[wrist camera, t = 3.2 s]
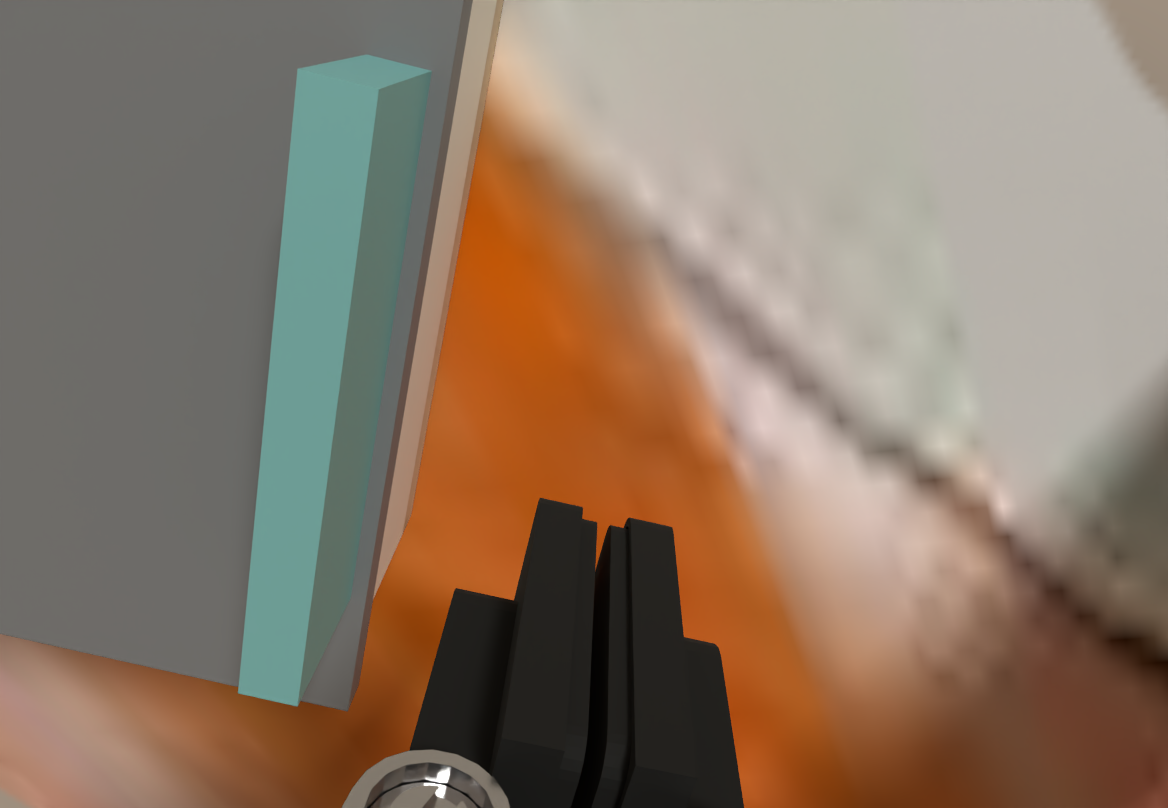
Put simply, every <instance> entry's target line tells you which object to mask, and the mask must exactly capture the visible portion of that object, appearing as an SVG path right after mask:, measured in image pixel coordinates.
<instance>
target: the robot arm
mask: <svg viewBox="0 0 1168 808" xmlns="http://www.w3.org/2000/svg"><path fill="white" fill-rule="evenodd" d="M582 514H583V508H582V507H579V506H575V505H570V504H566V503H561V502H557V501H552V500H548V499H543V498H540V499H539V502H538V506H537V509H536V513H535V517H534V522H533V526H532V530H531V534H530V538H529V542H528V546H527V550H526V554H525V558H524V562H523V566H522V570H521V574H520V578H519V582H518V586H517V590H516V595H515V599H514V601H513V600H508V599H504V598H499V597H494V596H490V595H485V594H481V593H476V592H471V591H467V590H462V589H457V588H456V589H455V591H454V594H453V598H452V601H451V605H450V608H449V612H448V615H447V619H446V622H445V626H444V629H443V633H442V637H441V640H440V644H439V647H438V651H437V654H436V658H435V661H434V665H433V669H432V672H431V676H430V679H429V683H428V686H427V690H426V693H425V697H424V701H423V704H422V708H421V711H420V715H419V718H418V722H417V725H416V729H415V733H414V736H413V740H412V743H411V747H410V750H409V751H406V752H403V753H400V754H397V755H393V756H390V757H387V758H385V759H383V760H382V761H380V762H379V763H377V764H376V765H374V766H373V767H371V768H370V769H368V770H367V771H366V772H365V773H364V774H363V776H362V777H361V778H360V779H359V781H358V782H357V783H356V784H355V786H354V787H353V788H352V790H351V792H350V793H349V795H348V797H347V799H346V801H345V803H344V804H343V806H342V808H744V804H743V798H742V791H741V785H740V778H739V772H738V765H737V759H736V752H735V745H734V739H733V732H732V726H731V719H730V713H729V706H728V700H727V693H726V687H725V680H724V673H723V667H722V660H721V655H720V651H719V648H718V647H717V646H716V645H715V644H713V643H708V642H704V641H699V640H694V639H690V638H685V637H684V635H683V625H682V615H681V605H680V595H679V585H678V575H677V565H676V555H675V545H674V534H673V529H672V527H669V526H665V525H660V524H656V523H651V522H647V521H642V520H638V519H633V518H628V519H627V521H626V523H625V526H624V528H620V527H616V526H611V525H610V526H609V528H608V530H607V533H606V536H605V539H604V543H603V546H602V550H601V553H600V557H599V560H598V564H597V567H596V571H595V563H596V540H597V522H593V521H589V520H584V519H582Z"/></svg>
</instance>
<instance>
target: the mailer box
mask: <svg viewBox="0 0 1168 808" xmlns="http://www.w3.org/2000/svg"><path fill="white" fill-rule="evenodd" d="M503 1H504V0H473V2H472V8H471V14H470V20H469V26H468V32H467V38H466V44H465V50H464V56H463V62H462V68H461V74H460V80H459V86H458V92H457V98H456V104H455V110H454V116H453V122H452V128H451V134H450V140H449V146H448V152H447V158H446V164H445V170H444V176H443V182H442V188H441V194H440V200H439V206H438V212H437V218H436V224H435V230H434V236H433V242H432V248H431V254H430V260H429V266H428V272H427V278H426V284H425V290H424V296H423V302H422V308H421V314H420V320H419V326H418V332H417V338H416V344H415V350H414V356H413V362H412V368H411V374H410V380H409V386H408V392H407V398H406V404H405V410H404V416H403V422H402V428H401V434H400V440H399V446H398V452H397V458H396V464H395V470H394V476H393V482H392V488H391V494H390V500H389V506H388V512H387V518H386V524H385V530H384V536H383V542H382V548H381V554H380V560H379V566H378V572H377V578H376V584H375V590H374V596H375V594H376V592H377V590H378V588H379V585H380V583H381V581H382V579H383V576H384V574H385V572H386V570H387V568H388V565H389V563H390V561H391V559H392V556H393V554H394V552H395V550H396V548H397V545H398V543H399V541H400V539H401V536H402V534H403V532H404V530H405V528H406V525H407V523H408V521H409V519H410V516H411V513H412V507H413V502H414V496H415V491H416V485H417V480H418V474H419V468H420V463H421V457H422V452H423V446H424V441H425V435H426V430H427V424H428V418H429V413H430V407H431V402H432V396H433V391H434V385H435V379H436V374H437V368H438V363H439V357H440V352H441V346H442V341H443V335H444V329H445V324H446V318H447V313H448V307H449V302H450V296H451V290H452V285H453V279H454V274H455V268H456V263H457V257H458V252H459V246H460V240H461V235H462V229H463V224H464V218H465V213H466V207H467V202H468V196H469V190H470V185H471V179H472V174H473V168H474V163H475V157H476V151H477V146H478V140H479V135H480V129H481V124H482V118H483V113H484V107H485V101H486V96H487V90H488V85H489V79H490V74H491V68H492V62H493V57H494V51H495V46H496V40H497V35H498V29H499V24H500V18H501V12H502V7H503ZM374 596H373V599H374Z"/></svg>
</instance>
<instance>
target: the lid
mask: <svg viewBox="0 0 1168 808" xmlns="http://www.w3.org/2000/svg"><path fill="white" fill-rule="evenodd" d="M472 2H473V0H0V634H3V635H8V636H12V637H17V638H21V639H26V640H30V641H35V642H39V643H44V644H48V645H52V646H57V647H61V648H66V649H70V650H75V651H79V652H84V653H88V654H93V655H97V656H102V657H106V658H111V659H115V660H120V661H124V662H129V663H133V664H138V665H142V666H147V667H151V668H156V669H160V670H165V671H169V672H174V673H178V674H183V675H187V676H191V677H196V678H200V679H205V680H209V681H214V682H218V683H223V684H227V685H232V686H236V687H239V688H238V693H239V694H243V695H248V696H252V697H257V698H261V699H266V700H270V701H275V702H279V703H284V704H288V705H293V706H298V704H299V702H300V701H304V702H308V703H313V704H317V705H322V706H326V707H331V708H335V709H339V710H344V711H348V709H349V707H350V705H351V702H352V700H353V697H354V695H355V693H356V690H357V688H358V685H359V680H360V674H361V668H362V662H363V656H364V650H365V644H366V638H367V632H368V626H369V620H370V614H371V608H372V602H373V596H374V590H375V584H376V578H377V572H378V566H379V560H380V554H381V548H382V542H383V536H384V530H385V524H386V518H387V512H388V506H389V500H390V494H391V488H392V482H393V476H394V470H395V464H396V458H397V452H398V446H399V440H400V434H401V428H402V422H403V416H404V410H405V404H406V398H407V392H408V386H409V380H410V374H411V368H412V362H413V356H414V350H415V344H416V338H417V332H418V326H419V320H420V314H421V308H422V302H423V296H424V290H425V284H426V278H427V272H428V266H429V260H430V254H431V248H432V242H433V236H434V230H435V224H436V218H437V212H438V206H439V200H440V194H441V188H442V182H443V176H444V170H445V164H446V158H447V152H448V146H449V140H450V134H451V128H452V122H453V116H454V110H455V104H456V98H457V92H458V86H459V80H460V74H461V68H462V62H463V56H464V50H465V44H466V38H467V32H468V26H469V20H470V14H471V8H472Z"/></svg>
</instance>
